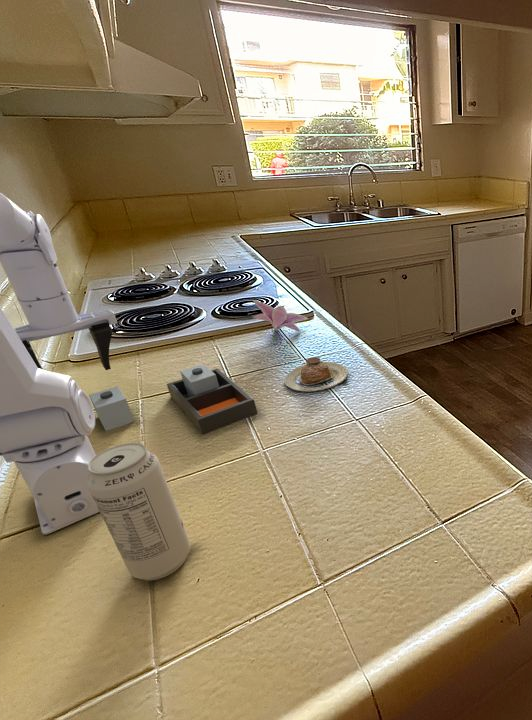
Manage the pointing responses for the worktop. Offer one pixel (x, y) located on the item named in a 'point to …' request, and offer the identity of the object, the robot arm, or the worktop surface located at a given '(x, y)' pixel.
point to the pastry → (316, 374)
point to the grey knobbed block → (112, 408)
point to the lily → (278, 317)
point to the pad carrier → (214, 403)
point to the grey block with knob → (199, 380)
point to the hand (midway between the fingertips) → (78, 375)
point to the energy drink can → (138, 510)
